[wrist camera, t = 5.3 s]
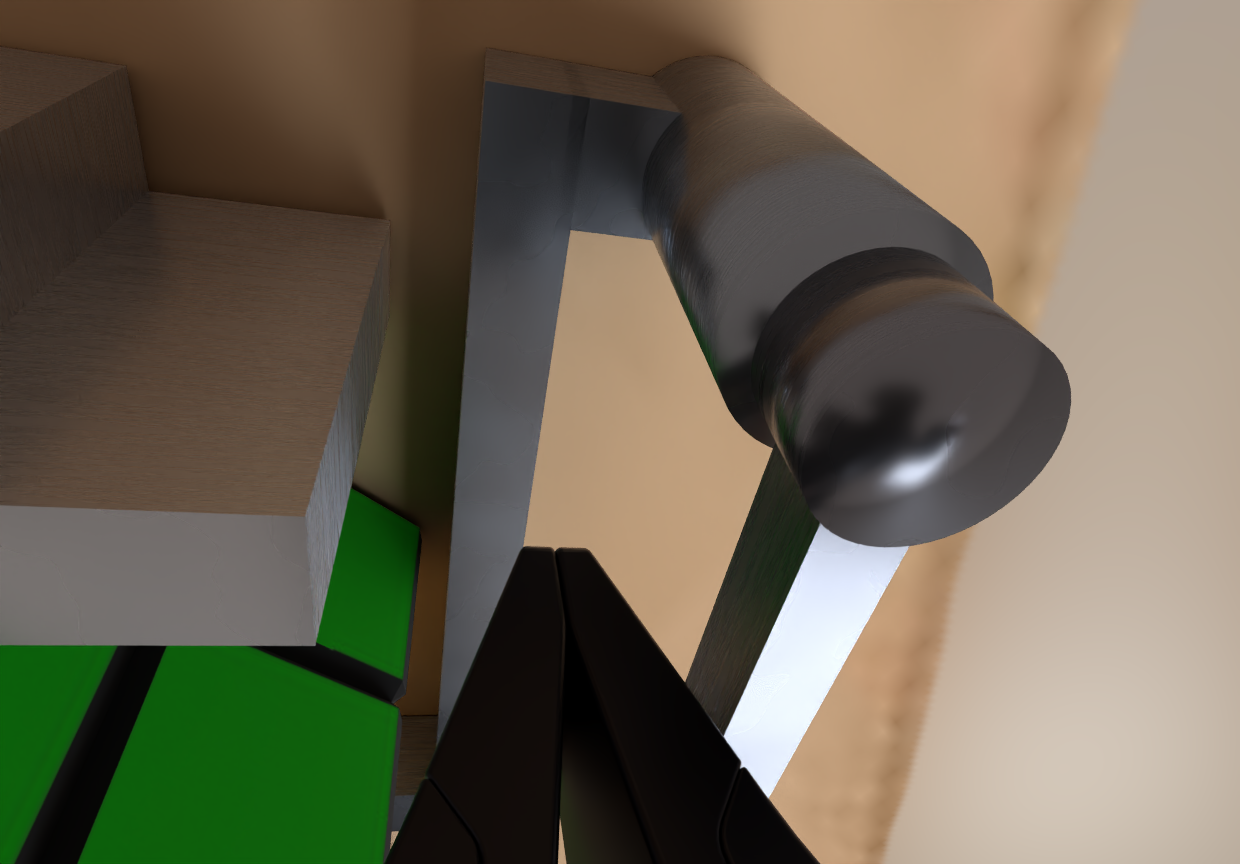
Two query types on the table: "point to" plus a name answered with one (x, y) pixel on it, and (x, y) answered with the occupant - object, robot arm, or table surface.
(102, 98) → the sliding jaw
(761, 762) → the lever
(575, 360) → the table surface
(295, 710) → the puzzle cube
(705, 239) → the base
